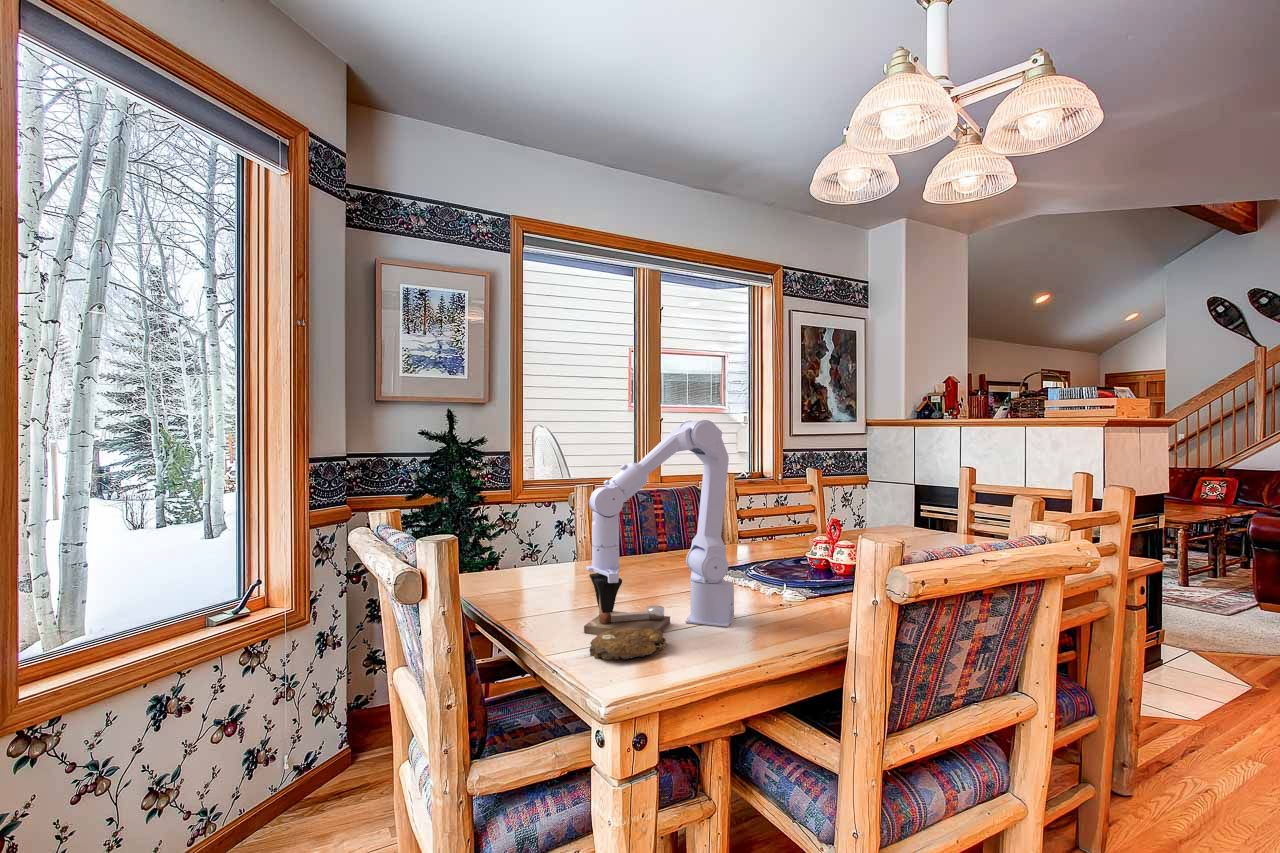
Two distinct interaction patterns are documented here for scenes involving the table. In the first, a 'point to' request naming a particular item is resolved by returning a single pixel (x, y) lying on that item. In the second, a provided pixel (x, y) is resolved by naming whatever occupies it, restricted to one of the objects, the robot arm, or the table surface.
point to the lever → (632, 615)
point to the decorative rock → (626, 643)
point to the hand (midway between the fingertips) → (605, 610)
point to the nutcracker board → (625, 624)
